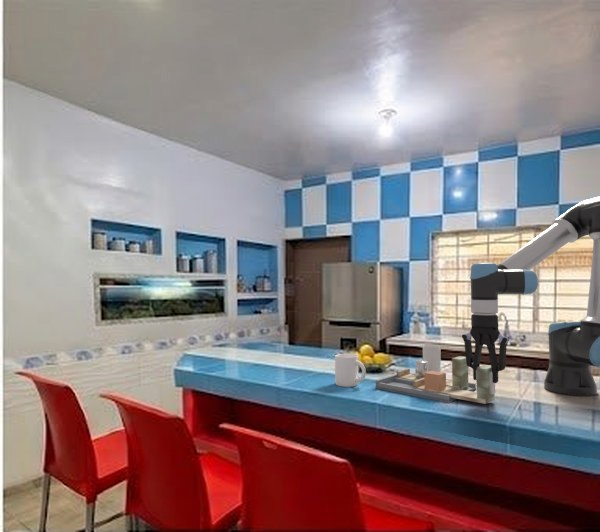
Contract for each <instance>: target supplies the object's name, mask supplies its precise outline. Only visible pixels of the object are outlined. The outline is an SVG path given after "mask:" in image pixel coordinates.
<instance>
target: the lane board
mask: <svg viewBox="0 0 600 532" xmlns="http://www.w3.org/2000/svg"><path fill="white" fill-rule="evenodd" d="M410 374H412V375H416V374H415V373H411V372H410ZM446 380H451V381H452V378H451V379H450V378H446ZM446 387H448V388H454V389H459V390H465V391H471V392H474V391H476V390H477V388H476V382H475V383H474V382H469V381H468V387H467V388H465V389H461V388H455V387H449V386H446ZM375 389H378V390H383V391H388V392H392V393H397V394H403V395H408V396H414V397H418V398H425V399H428V400H434V401H440V402H444V403H451V402H453V401H454V400H457V398H451V397H450V395H446V394H441V393H435V392H430V391H424V390H419V389H413V380H407V379H401V378H397V373H395V374H391V375H388V376H385V377H382V378H379V379H376V380H375ZM475 389H476V390H475ZM473 390H474V391H473Z"/></svg>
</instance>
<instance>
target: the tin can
mask: <svg viewBox="0 0 600 532" xmlns="http://www.w3.org/2000/svg"><path fill="white" fill-rule="evenodd" d="M414 362H415V363H414V366H415V372H414V374H416V379H421V378H424V373H426V372H428V361H423V360H415V361H414Z"/></svg>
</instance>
